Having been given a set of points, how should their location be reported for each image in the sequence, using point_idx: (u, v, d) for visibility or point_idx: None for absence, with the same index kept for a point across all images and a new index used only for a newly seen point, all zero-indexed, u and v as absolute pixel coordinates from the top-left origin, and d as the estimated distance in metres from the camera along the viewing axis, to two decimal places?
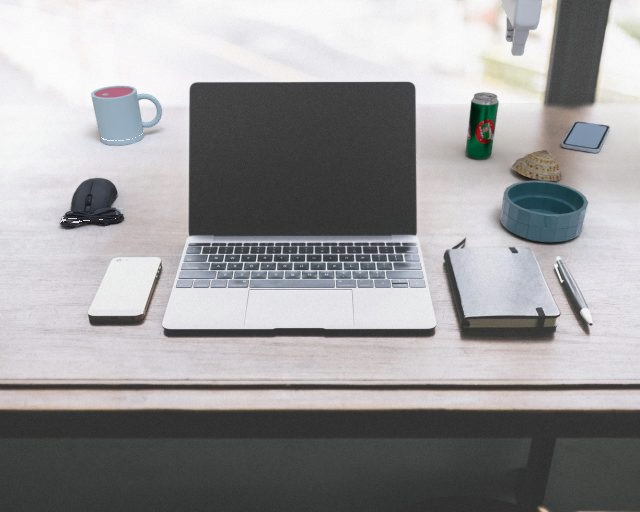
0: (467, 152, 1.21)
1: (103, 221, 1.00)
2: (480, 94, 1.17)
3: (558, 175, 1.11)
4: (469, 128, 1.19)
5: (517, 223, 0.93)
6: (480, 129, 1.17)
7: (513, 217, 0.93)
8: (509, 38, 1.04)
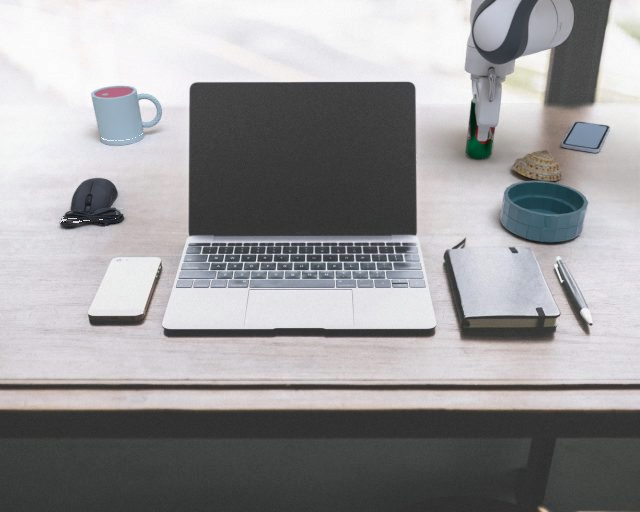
0: (467, 152, 1.21)
1: (103, 221, 1.00)
2: None
3: (558, 175, 1.11)
4: (469, 128, 1.19)
5: (517, 223, 0.93)
6: None
7: (513, 217, 0.93)
8: None
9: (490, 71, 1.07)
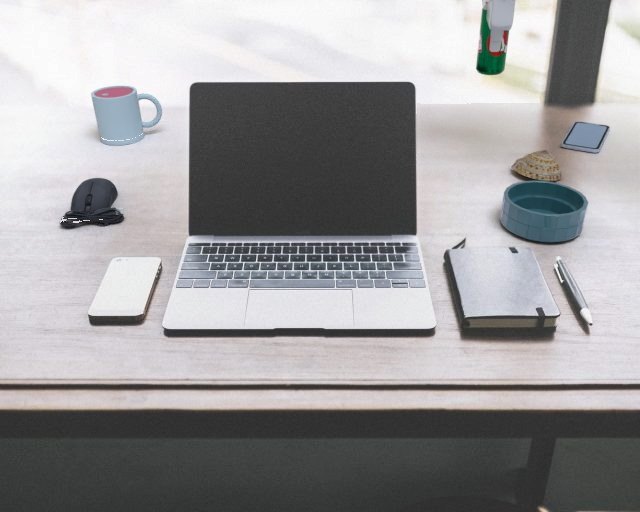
0: (478, 68, 1.12)
1: (103, 221, 1.00)
2: None
3: (558, 175, 1.11)
4: (480, 40, 1.10)
5: (517, 223, 0.93)
6: None
7: (513, 217, 0.93)
8: None
9: None
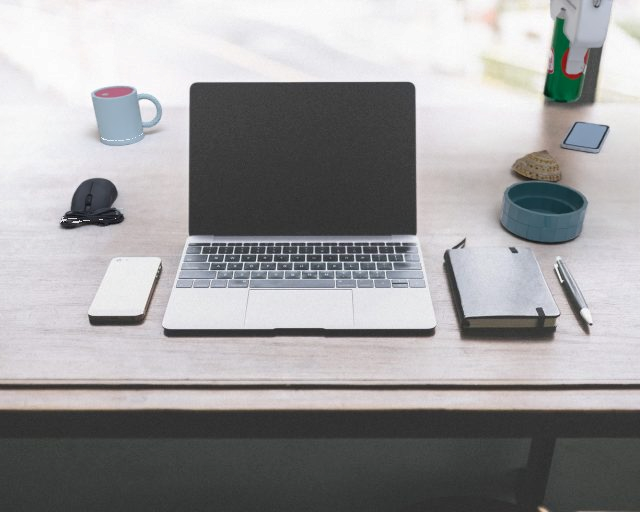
0: (547, 93, 0.87)
1: (103, 221, 1.00)
2: None
3: (558, 175, 1.11)
4: (552, 58, 0.84)
5: (517, 223, 0.93)
6: None
7: (513, 217, 0.93)
8: None
9: None
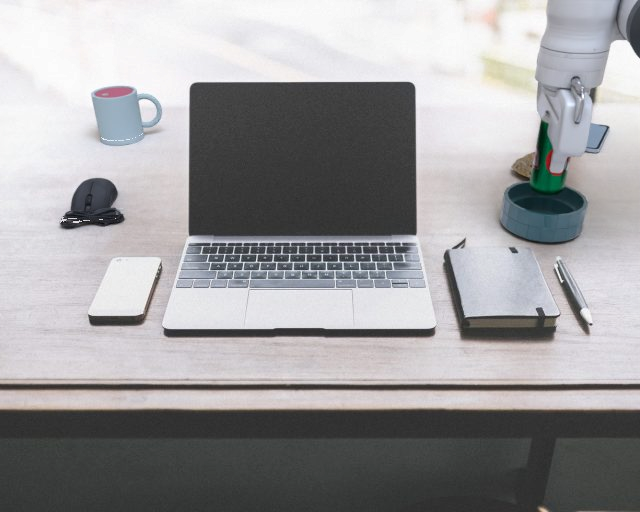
0: (532, 186, 0.93)
1: (103, 221, 1.00)
2: None
3: None
4: (537, 155, 0.91)
5: (517, 223, 0.93)
6: None
7: (513, 217, 0.93)
8: None
9: (576, 82, 0.79)
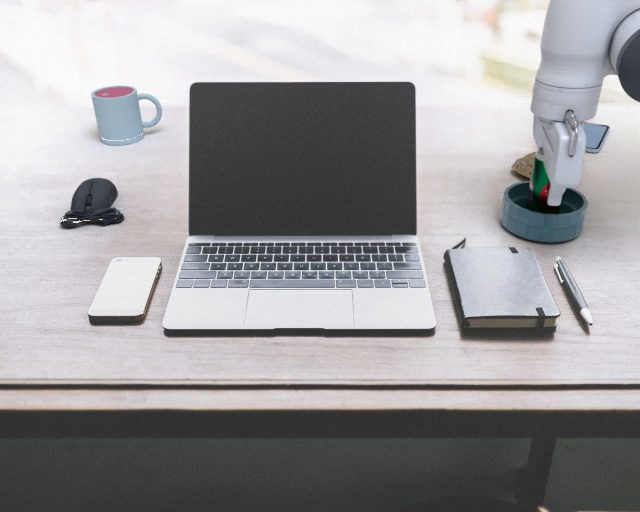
0: None
1: (103, 221, 1.00)
2: None
3: None
4: (531, 190, 0.94)
5: (517, 223, 0.93)
6: (546, 192, 0.92)
7: (513, 217, 0.93)
8: None
9: (570, 116, 0.82)
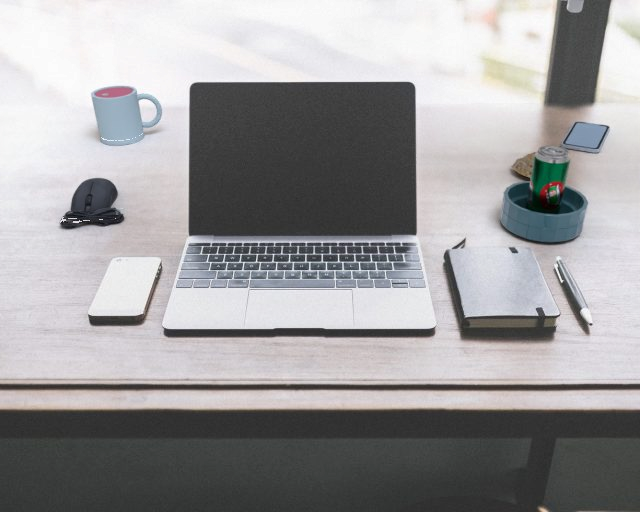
0: None
1: (103, 221, 1.00)
2: (546, 148, 0.92)
3: None
4: (531, 190, 0.94)
5: (517, 223, 0.93)
6: (546, 192, 0.92)
7: (513, 217, 0.93)
8: None
9: None
